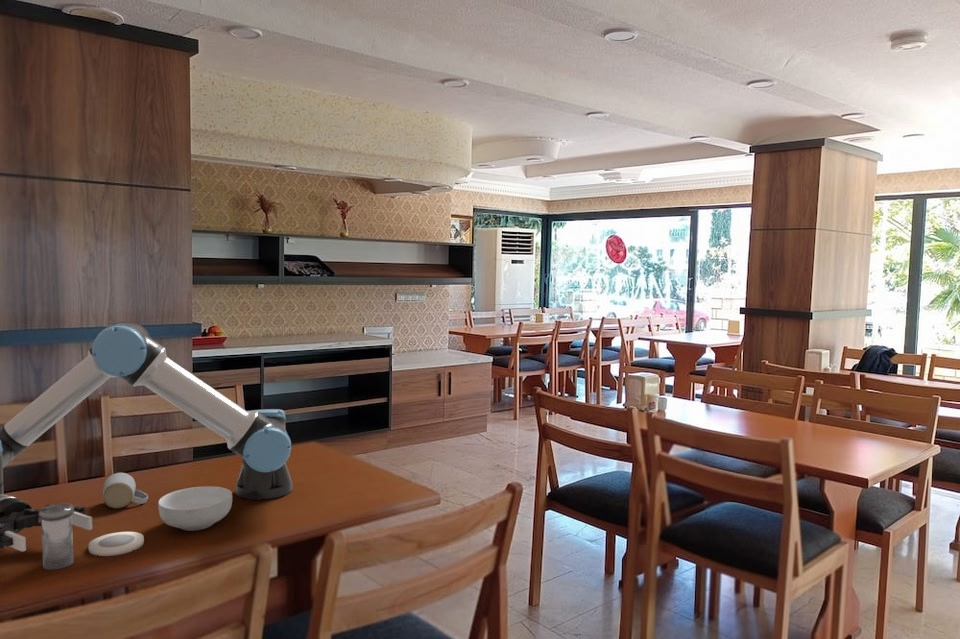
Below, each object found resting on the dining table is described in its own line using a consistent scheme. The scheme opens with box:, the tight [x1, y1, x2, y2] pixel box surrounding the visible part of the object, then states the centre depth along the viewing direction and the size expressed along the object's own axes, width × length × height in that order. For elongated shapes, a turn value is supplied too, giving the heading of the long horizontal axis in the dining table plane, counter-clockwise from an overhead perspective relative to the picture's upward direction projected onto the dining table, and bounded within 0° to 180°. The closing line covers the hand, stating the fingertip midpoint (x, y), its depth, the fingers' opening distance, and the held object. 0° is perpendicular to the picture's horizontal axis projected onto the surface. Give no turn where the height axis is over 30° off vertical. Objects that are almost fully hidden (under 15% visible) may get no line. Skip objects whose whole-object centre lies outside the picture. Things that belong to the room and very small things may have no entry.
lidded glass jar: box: [39, 503, 75, 571], centre depth 149 cm, size 6×6×12 cm
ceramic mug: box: [102, 472, 149, 509], centre depth 186 cm, size 11×8×8 cm
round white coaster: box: [88, 531, 145, 557], centre depth 159 cm, size 11×11×1 cm
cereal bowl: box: [157, 485, 233, 532], centre depth 172 cm, size 17×17×7 cm
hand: (58, 533), depth 148 cm, fingers open, 13 cm apart
